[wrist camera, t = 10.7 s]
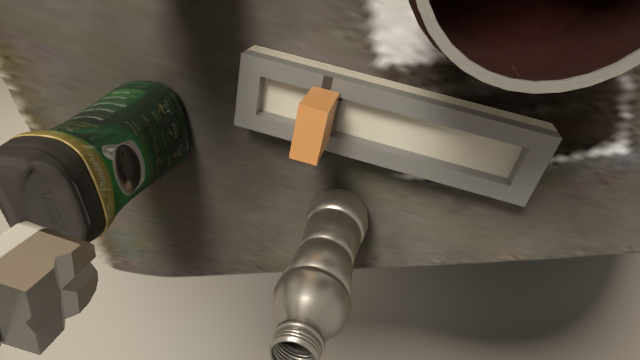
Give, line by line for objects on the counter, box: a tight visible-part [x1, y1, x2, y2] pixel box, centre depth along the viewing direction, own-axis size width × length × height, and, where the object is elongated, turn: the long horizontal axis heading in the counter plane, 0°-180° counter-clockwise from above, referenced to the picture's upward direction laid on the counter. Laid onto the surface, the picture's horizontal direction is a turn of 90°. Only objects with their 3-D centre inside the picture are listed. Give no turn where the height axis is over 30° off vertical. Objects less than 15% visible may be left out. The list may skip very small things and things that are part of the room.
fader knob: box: [289, 86, 343, 166], centre depth 37 cm, size 3×5×7 cm, turn 168°
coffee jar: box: [0, 81, 190, 242], centre depth 39 cm, size 10×8×19 cm
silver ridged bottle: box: [269, 188, 368, 360], centre depth 38 cm, size 6×7×20 cm
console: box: [234, 45, 562, 207], centre depth 39 cm, size 28×7×4 cm, turn 78°
